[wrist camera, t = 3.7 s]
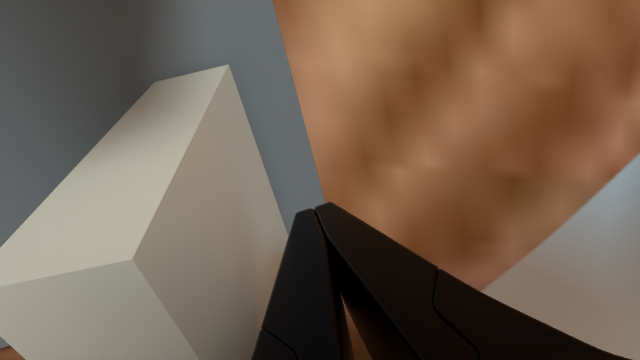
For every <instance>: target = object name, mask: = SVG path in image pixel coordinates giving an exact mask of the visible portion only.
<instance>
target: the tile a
mask: <svg viewBox="0 0 640 360" xmlns="http://www.w3.org/2000/svg"><path fill="white" fill-rule="evenodd" d="M287 239H288V234H287V231H286V228H285V225H284V222H283V220H282V217H281V214H280V211H279V208H278V205H277V202H276V199H275V197H274V194H273V191H272V188H271V185H270V182H269V179H268V176H267V174H266V171H265V168H264V165H263V162H262V159H261V156H260V153H259V151H258V148H257V145H256V142H255V139H254V136H253V133H252V130H251V127H250V125H249V122H248V119H247V116H246V113H245V110H244V107H243V104H242V102H241V99H240V96H239V93H238V90H237V87H236V84H235V81H234V79H233V76H232V73H231V70H230V67H229V65H224V66H220V67H216V68H212V69H208V70H203V71H199V72H195V73H191V74H187V75H182V76H178V77H174V78H170V79H166V80H161V81H157V82H154V83H153V84H152V85H151V87H150V88H149V89H148V90H147V91H146V92H145V93H144V94H143V95H142V96H141V97H140V98H139V99H138V100H137V102H136V103H135V104H134V105H133V106H132V107H131V108H130V109H129V110H128V111H127V112H126V113H125V114H124V115H123V117H122V118H121V119H120V120H119V121H118V122H117V123H116V124H115V125H114V126H113V127H112V128H111V129H110V131H109V132H108V133H107V134H106V135H105V136H104V137H103V138H102V139H101V140H100V141H99V142H98V143H97V144H96V146H95V147H94V148H93V149H92V150H91V151H90V152H89V153H88V154H87V155H86V156H85V157H84V158H83V159H82V161H81V162H80V163H79V164H78V165H77V166H76V167H75V168H74V169H73V170H72V171H71V172H70V173H69V174H68V176H67V177H66V178H65V179H64V180H63V181H62V182H61V183H60V184H59V185H58V186H57V187H56V188H55V190H54V191H53V192H52V193H51V194H50V195H49V196H48V197H47V198H46V199H45V200H44V201H43V202H42V203H41V205H40V206H39V207H38V208H37V209H36V210H35V211H34V212H33V213H32V214H31V215H30V216H29V217H28V218H27V220H26V221H25V222H24V223H23V224H22V225H21V226H20V227H19V228H18V229H17V230H16V231H15V232H14V234H13V235H12V236H11V237H10V238H9V239H8V240H7V241H6V242H5V243H4V244H3V245H2V246H1V247H0V337H1V338H3V339H4V340H5V341H6V342H7V343H8V344H9V345H10V346H11V347H12V348H14V349H15V350H16V351H17V352H18V353H19V354H20V355H21V356H22V357H23V358H25V359H26V360H251V357H252V354H253V351H254V348H255V345H256V342H257V338H258V335H259V332H260V330H262V329H261V326H262V322H263V319H264V316H265V312H266V309H267V306H268V302H269V299H270V296H271V292H272V289H273V286H274V282H275V279H276V276H277V273H278V269H279V266H280V263H281V259H282V256H283V253H284V249H285V246H286V243H287Z"/></svg>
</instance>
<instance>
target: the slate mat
mask: <svg viewBox="0 0 640 360" xmlns="http://www.w3.org/2000/svg"><path fill="white" fill-rule="evenodd" d="M224 65H229V67H230V70H231V73H232V76H233V79H234V81H235V84H236V87H237V90H238V93H239V96H240V99H241V102H242V104H243V107H244V110H245V113H246V116H247V119H248V122H249V125H250V127H251V130H252V133H253V136H254V139H255V142H256V145H257V148H258V151H259V153H260V156H261V159H262V162H263V165H264V168H265V171H266V174H267V176H268V179H269V182H270V185H271V188H272V191H273V194H274V197H275V199H276V202H277V205H278V208H279V211H280V214H281V217H282V220H283V222H284V225H285V228H286V231H287V234H288V236H289V233H290V229H291V226H292V223H293V220H294V216H295V214H296V213H297V212H299V211H303V210H306V209H309V208H312V209H314V208H315V207H316V206H319V205H322V204H325V201H324V197H323V193H322V189H321V185H320V181H319V178H318V174H317V170H316V166H315V162H314V159H313V155H312V151H311V147H310V143H309V139H308V136H307V132H306V128H305V124H304V120H303V116H302V113H301V109H300V105H299V101H298V97H297V93H296V90H295V86H294V82H293V78H292V74H291V71H290V67H289V63H288V59H287V55H286V51H285V48H284V44H283V40H282V36H281V32H280V28H279V25H278V21H277V17H276V13H275V9H274V5H273V2H272V0H0V247H1V246H2V245H3V244H4V243H5V242H6V241H7V240H8V239H9V238H10V237H11V236H12V235H13V234H14V232H15V231H16V230H17V229H18V228H19V227H20V226H21V225H22V224H23V223H24V222H25V221H26V220H27V218H28V217H29V216H30V215H31V214H32V213H33V212H34V211H35V210H36V209H37V208H38V207H39V206H40V205H41V203H42V202H43V201H44V200H45V199H46V198H47V197H48V196H49V195H50V194H51V193H52V192H53V191H54V190H55V188H56V187H57V186H58V185H59V184H60V183H61V182H62V181H63V180H64V179H65V178H66V177H67V176H68V174H69V173H70V172H71V171H72V170H73V169H74V168H75V167H76V166H77V165H78V164H79V163H80V162H81V161H82V159H83V158H84V157H85V156H86V155H87V154H88V153H89V152H90V151H91V150H92V149H93V148H94V147H95V146H96V144H97V143H98V142H99V141H100V140H101V139H102V138H103V137H104V136H105V135H106V134H107V133H108V132H109V131H110V129H111V128H112V127H113V126H114V125H115V124H116V123H117V122H118V121H119V120H120V119H121V118H122V117H123V115H124V114H125V113H126V112H127V111H128V110H129V109H130V108H131V107H132V106H133V105H134V104H135V103H136V102H137V100H138V99H139V98H140V97H141V96H142V95H143V94H144V93H145V92H146V91H147V90H148V89H149V88H150V87H151V85H152V84H153V83H154V82H157V81H161V80H166V79H170V78H174V77H178V76H182V75H187V74H191V73H195V72H199V71H203V70H208V69H212V68H216V67H220V66H224ZM7 346H10V345H9V344H8V343H7V342H6V341H5V340H4V339H3V338H1V337H0V349H1V348H4V347H7Z"/></svg>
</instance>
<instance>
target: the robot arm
mask: <svg viewBox="0 0 640 360" xmlns="http://www.w3.org/2000/svg"><path fill="white" fill-rule="evenodd" d="M341 296H342V297H341ZM342 298H343V301H344V303H345V305H346V307H347V309H348V311H349V313H350V315H351V317H352V320H353V322H354V324H355V326H356V328H357V330H358V332H359V334H360V336H361V338H362V340H363V342H364V344H365V346H366V348H367V350H368V352H369V354H370V356H371V358H372V360H631V359H628V358H624V357H621V356H617V355H614V354H612V353H609V352H606V351H603V350H601V349H598V348H596V347H594V346H591V345H589V344H587V343H585V342H583V341H580V340H578V339H576V338H574V337H572V336H570V335H568V334H566V333H563V332H562V331H559V330H557V329H555V328H553V327H551V326H549V325H547V324H545V323H543V322H540V321H538V320H536V319H534V318H532V317H530V316H528V315H526V314H523V313H522V312H520V311H518V310H515V309H513V308H511V307H509V306H507V305H505V304H503V303H501V302H499V301H497V300H495V299H493V298H491V297H489V296H487V295H485V294H484V293H482V292H480V291H478V290H476V289H474V288H473V287H471V286H469V285H467V284H466V283H464V282H462V281H460V280H459V279H457V278H455V277H454V276H452V275H450V274H449V273H447V272H445V271H444V270H442V269H439V268H438V267H437V266H435V265H434V264H432V263H430V262H429V261H427V260H425V259H424V258H422V257H421V256H419V255H417V254H416V253H414V252H412V251H411V250H409V249H407V248H406V247H404V246H403V245H401V244H399V243H398V242H396V241H394V240H393V239H391V238H389V237H388V236H386V235H385V234H383V233H381V232H380V231H378V230H376V229H375V228H373V227H371V226H370V225H368V224H367V223H365V222H363V221H362V220H360V219H358V218H357V217H355V216H353V215H352V214H350V213H348V212H347V211H345V210H344V209H342V208H340V207H339V206H337V205H335V204H334V203H332V202H328V203H325V204H322V205H319V206H316V207H315V208H314V209H312V208H309V209H306V210H303V211H299V212H297V213H296V214H295V216H294V220H293V223H292V226H291V229H290V233H289V236H288V239H287V243H286V246H285V249H284V253H283V256H282V259H281V263H280V266H279V269H278V273H277V276H276V279H275V282H274V286H273V289H272V292H271V296H270V299H269V302H268V306H267V309H266V312H265V316H264V319H263V322H262V326H261V329H262V330H260V332H259V335H258V338H257V342H256V345H255V348H254V351H253V354H252V357H251V360H355V358H354V353H353V348H352V343H351V339H350V334H349V329H348V324H347V319H346V314H345V309H344V305H343V301H342Z"/></svg>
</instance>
